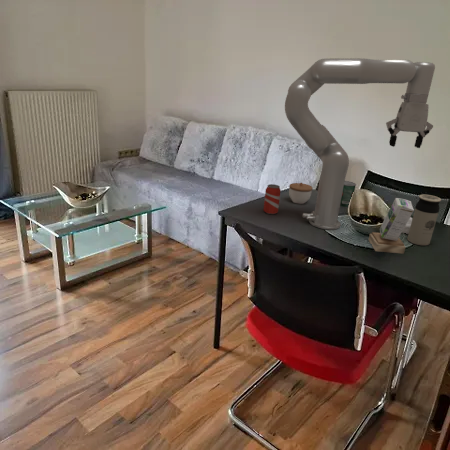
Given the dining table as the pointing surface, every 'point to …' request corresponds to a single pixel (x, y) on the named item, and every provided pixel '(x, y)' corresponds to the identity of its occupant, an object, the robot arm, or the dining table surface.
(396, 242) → the base
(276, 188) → the beverage can
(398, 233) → the syrup box
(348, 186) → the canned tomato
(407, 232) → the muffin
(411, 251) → the dining table surface
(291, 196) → the lidded jar
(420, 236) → the travel mug
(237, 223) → the dining table surface
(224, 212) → the dining table surface
